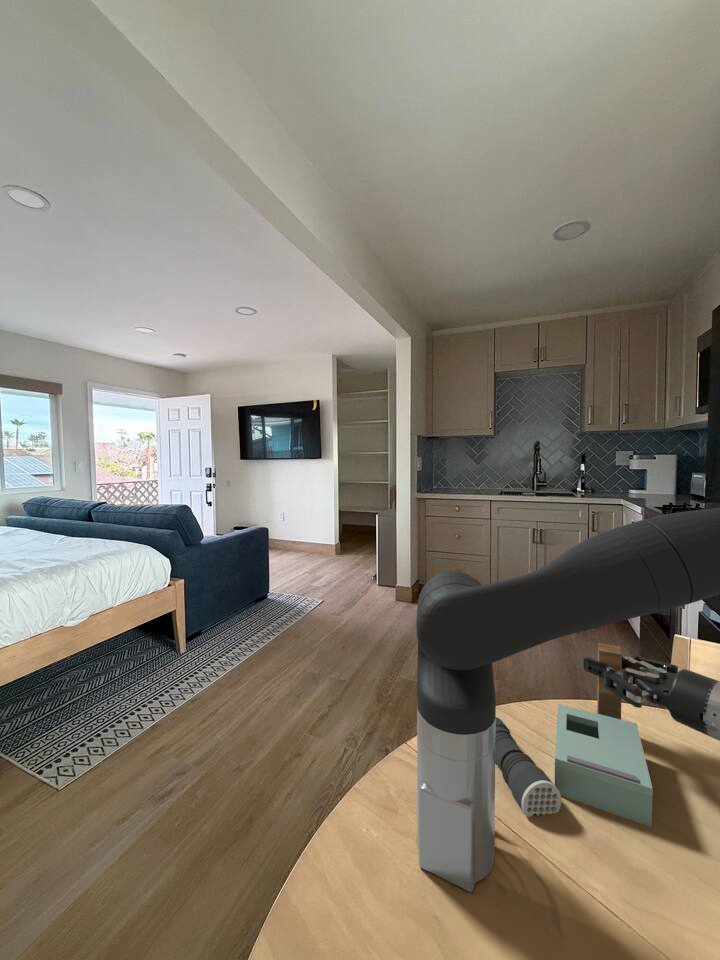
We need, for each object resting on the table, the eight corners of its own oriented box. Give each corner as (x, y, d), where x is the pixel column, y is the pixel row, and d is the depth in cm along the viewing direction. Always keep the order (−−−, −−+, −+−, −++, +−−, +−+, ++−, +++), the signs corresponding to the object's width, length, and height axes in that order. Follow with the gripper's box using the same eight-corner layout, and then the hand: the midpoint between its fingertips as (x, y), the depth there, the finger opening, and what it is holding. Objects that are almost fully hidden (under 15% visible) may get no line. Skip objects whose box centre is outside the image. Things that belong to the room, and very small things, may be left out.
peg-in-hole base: (651, 834, 50) (652, 786, 50) (554, 800, 55) (555, 756, 55) (635, 760, 62) (636, 721, 62) (557, 738, 67) (558, 702, 67)
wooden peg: (620, 738, 65) (621, 654, 65) (598, 732, 67) (599, 650, 66) (618, 726, 68) (619, 646, 67) (597, 721, 69) (598, 642, 69)
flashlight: (472, 744, 66) (472, 712, 66) (502, 740, 67) (502, 709, 67) (523, 826, 51) (523, 785, 51) (561, 820, 52) (561, 780, 52)
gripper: (737, 669, 58) (613, 628, 73) (699, 700, 51) (569, 648, 65) (736, 718, 59) (612, 668, 73) (697, 757, 51) (568, 692, 66)
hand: (592, 659), depth 69 cm, fingers closed on wooden peg, 4 cm apart
